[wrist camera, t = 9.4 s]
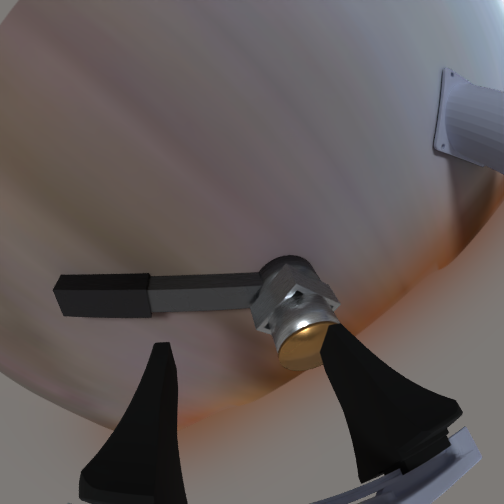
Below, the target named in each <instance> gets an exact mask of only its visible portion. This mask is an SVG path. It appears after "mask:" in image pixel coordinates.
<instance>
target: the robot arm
mask: <svg viewBox="0 0 504 504" xmlns="http://www.w3.org/2000/svg"><path fill="white" fill-rule="evenodd" d="M441 146H442V147H441ZM434 148H435V149H436V150H438V151H441V152H444V153H447V154H450V155H452V156H455V157H458V158H461V159H463V160H466V161H469V162H471V163H474V164H476V165H479V166H481V167H484V166H487V167H490V168H492V169H494V170H496V171H498V172H499V173H501V174H503V175H504V92H503V91H499V90H495V89H491V88H486V87H481V86H476V85H473V84H472V83H471V82H469V81H468V80H466V79H465V78H463V77H462V76H460V75H459V74H457V73H456V72H454V71H453V70H451V69H450V68H444V69H443V77H442V89H441V99H440V107H439V115H438V122H437V128H436V134H435V140H434ZM320 355H321V359H322V362H323V365H324V368H325V371H326V374H327V375H328V378H329V380H330V383H331V385H332V387H333V389H334V391H335V394H336V396H337V398H338V400H339V402H340V404H341V407H342V409H343V412H344V415H345V418H346V421H347V424H348V428H349V431H350V435H351V439H352V443H353V447H354V452H355V457H356V463H357V468H358V477H359V480H360V482H361V483H364V482H367V481H369V480H371V479H373V478H376V477H378V476H380V475H383V474H384V475H385V476H383V477H381V478H379V479H377V480H374V481H372V482H370V483H367V484H365V485H363V486H360V487H357V488H355V489H353V490H350V491H347V492H344V493H342V494H339V495H336V496H333V497H330V498H327V499H324V500H320V501H317V502H313V503H310V504H348V503H351V502H353V501H356V500H358V499H361V498H363V497H365V496H368V495H370V494H372V493H375V492H377V493H376V496H375V497H373V498H370V499H368V500H365V501H363V502H360V503H358V504H431V503H432V502H433V501H435V500H436V499H437V498H438V497H439V496H441V495H442V494H443V493H444V492H445V491H447V490H448V489H449V488H450V487H451V486H452V485H453V484H454V483H456V482H457V481H458V480H459V479H460V478H461V477H462V476H463V475H464V474H465V473H466V472H468V471H469V470H470V469H471V468H472V467H473V466H474V465H475V464H476V463H478V462H479V461H480V460H481V459H482V456H481V454H480V452H479V450H478V448H477V446H476V444H475V442H474V440H473V439H472V437H471V435H470V433H469V431H468V429H467V427H466V426H464V427H463V428H462V429H461V430H459V431H458V432H456V433H455V434H454V435H452V436H451V437H449V438H447V436H446V435H447V434H448V433H449V432H448V430H447V427H449V426H450V425H451V424H452V423H453V422H455V421H456V420H457V419H458V418H459V417H460V416H461V415H462V413H463V412H462V410H461V408H460V407H459V405H458V403H457V402H456V400H454V399H450V398H447V397H445V396H441V395H439V394H437V393H434V392H432V391H430V390H427V389H425V388H423V387H421V386H419V385H417V384H416V383H414V382H412V381H410V380H409V379H407V378H405V377H404V376H402V375H401V374H399V373H398V372H396V371H395V370H393V369H392V368H391V367H389V366H388V365H387V364H386V363H384V362H383V361H382V360H380V359H379V358H378V357H377V356H376V355H374V354H373V353H372V352H371V351H370V350H369V349H367V348H366V347H365V346H364V345H363V344H362V343H361V342H360V341H359V340H358V339H357V338H356V337H355V336H354V335H352V334H351V333H350V332H349V331H348V330H347V329H346V328H345V327H344V326H343V325H342V324H341V323H338V324H333V325H329V326H328V329H327V332H326V335H325V338H324V341H323V344H322V347H321V350H320ZM177 407H178V382H177V368H176V365H175V361H174V358H173V354H172V350H171V346H170V342H160V343H155V344H154V345H153V349H152V352H151V355H150V358H149V361H148V364H147V366H146V369H145V372H144V374H143V376H142V379H141V381H140V384H139V386H138V388H137V390H136V392H135V394H134V396H133V398H132V401H131V403H130V404H129V406H128V408H127V410H126V412H125V414H124V415H123V417H122V419H121V421H120V422H119V424H118V425H117V427H116V428H115V430H114V432H113V433H112V434H111V436H110V437H109V439H108V440H107V442H106V443H105V444H104V445H103V447H102V448H101V449H100V451H99V452H98V453H97V454H96V456H95V457H94V458H93V459H92V460H91V461H90V462H89V463H88V464H87V465H86V467H85V468H84V469H83V470H82V471H81V475H80V480H79V498H80V499H81V500H82V501H85V502H88V503H91V504H187V499H186V494H185V489H184V483H183V479H182V472H181V466H180V458H179V450H178V441H177ZM67 504H70V503H67Z"/></svg>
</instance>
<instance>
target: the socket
mask: <svg viewBox="0 0 504 504" xmlns="http://www.w3.org/2000/svg"><path fill="white" fill-rule="evenodd" d="M297 290H298V291H300V292H302V294H297V295H295V296H292V295H293V294H294V293H295V292H296V291H297ZM340 305H341V304H340V302H339V301H338V299H337V297H336V296H335V294H334V293H333V291H332V289H331V288H330V286H329V285H328V284H326V283H324V282H322V281H320V280H318V279H316V278H314V277H312V276H310V275H308V274H306V273H304V272H302V271H300V270H298V269H296V268H294V267H292V266H290V265H288V264H285V265H284V266H283V267H282V269H281V270H280V271H279V272H278V274H277V275H276V276H275V277H274V279H273V280H272V281H271V282H270V284H269V285H268V286H267V287H266V289H265V290H264V291H263V292H262V293H261V295H260V296H259V297H258V298H257V300H256V301H255V302H254V303H253V304H252V306H251V307H250V309H251V313H252V317H253V320H254V324H255V328H256V330H258V331H261V332H265V333H268V334H271V335H272V337H273V340H274V343H275V346H276V349H277V352H278V358H279V361H280V363H281V365H282V366H283V367H285V368H286V369H289V370H294V371H303V370H309V369H313V368H316V367H318V366H321V365H323V362H322V359H321V355H320V350H321V347H322V344H323V341H324V338H325V335H326V332H327V329H328V326H329V325H333V324H338V323H340V322H339V320H338V319H337V317H336V315H335V313H334V311H335V310H336V309H337V308H338V307H339V306H340Z"/></svg>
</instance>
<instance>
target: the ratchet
mask: <svg viewBox="0 0 504 504" xmlns="http://www.w3.org/2000/svg"><path fill="white" fill-rule="evenodd" d="M285 264H288V265H290V266H292V267H294V268H296V269H298V270H300V271H302V272H304V273H306V274H308V275H310V276H312V277H314V278H316V279H318V280H320V278H319V277H318V275H317V274H316V272H315V270H314V269H313V267H312V266H311V264H310V263H309V262H308V261H307V260H306V259H304V258H302V257H299V256H294V255H288V256H282V257H278V258H276V259H274V260H272V261H270V262H269V263H267V264H266V265H265V266H264V267H263V268H262V269H261V270H260V271H259V272H256V273H235V274H210V275H182V276H149V273H142V274H93V275H61V276H60V278H59V279H58V281H57V283H56V285H55V287H54V288H53V292H54V294H55V297H56V299H57V302H58V304H59V306H60V309H61V311H62V313H63V316H71V317H104V318H152V312H180V311H206V310H225V309H242V308H250V307H251V306H252V304H253V303H254V302H255V301H256V300H257V298H258V297H259V296H260V295H261V293H262V292H263V291H264V290H265V289H266V287H267V286H268V285H269V284H270V282H271V281H272V280H273V279H274V277H275V276H276V275H277V274H278V272H279V271H280V270H281V269H282V267H283V266H284V265H285ZM320 281H321V280H320ZM297 294H302V292H300V291H298V290H297V291H296V292H295V293H294V294H293V295H292V296H295V295H297Z"/></svg>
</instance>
